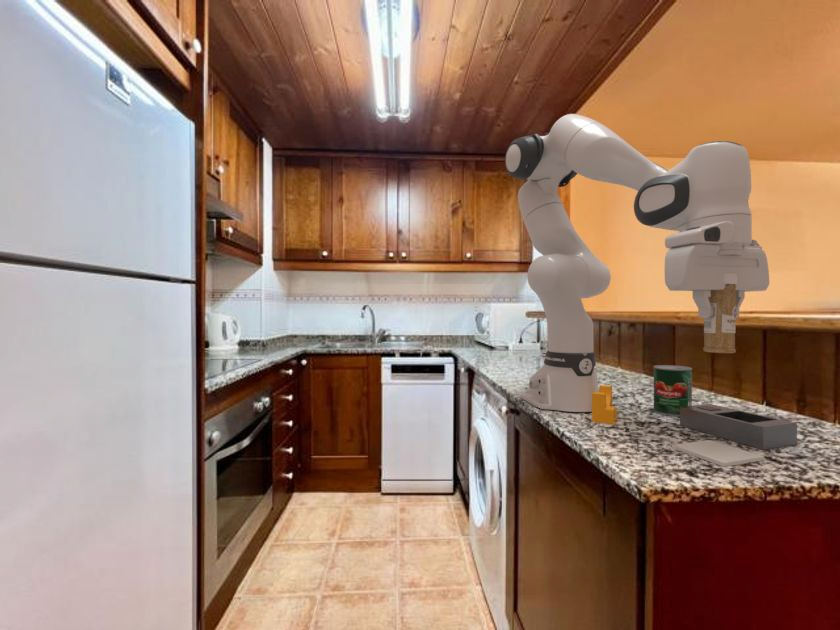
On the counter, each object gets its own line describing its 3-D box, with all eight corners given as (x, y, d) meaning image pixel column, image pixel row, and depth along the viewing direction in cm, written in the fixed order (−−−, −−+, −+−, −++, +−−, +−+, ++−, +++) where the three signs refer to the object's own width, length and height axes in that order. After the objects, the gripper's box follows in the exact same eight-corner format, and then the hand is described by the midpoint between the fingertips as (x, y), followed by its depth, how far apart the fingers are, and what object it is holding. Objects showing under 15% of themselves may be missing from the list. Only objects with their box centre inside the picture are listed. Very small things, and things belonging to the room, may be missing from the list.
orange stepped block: (613, 425, 86) (613, 395, 86) (591, 422, 89) (591, 393, 89) (620, 413, 97) (620, 386, 97) (600, 411, 99) (600, 385, 99)
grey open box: (680, 425, 85) (679, 406, 85) (710, 422, 88) (710, 403, 88) (763, 449, 70) (763, 426, 70) (796, 444, 72) (796, 422, 72)
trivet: (672, 448, 71) (672, 444, 71) (710, 443, 74) (710, 439, 74) (723, 466, 62) (723, 462, 62) (764, 460, 65) (764, 456, 65)
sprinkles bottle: (738, 354, 65) (740, 272, 65) (704, 352, 67) (706, 273, 68) (732, 352, 69) (734, 275, 69) (700, 350, 72) (702, 276, 72)
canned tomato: (658, 415, 94) (658, 368, 94) (649, 407, 101) (649, 364, 101) (697, 417, 91) (697, 369, 91) (685, 409, 99) (685, 365, 99)
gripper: (741, 243, 75) (742, 317, 75) (657, 237, 68) (657, 318, 69) (780, 236, 69) (781, 317, 69) (691, 230, 62) (692, 318, 62)
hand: (718, 317), depth 69 cm, fingers closed on sprinkles bottle, 4 cm apart
